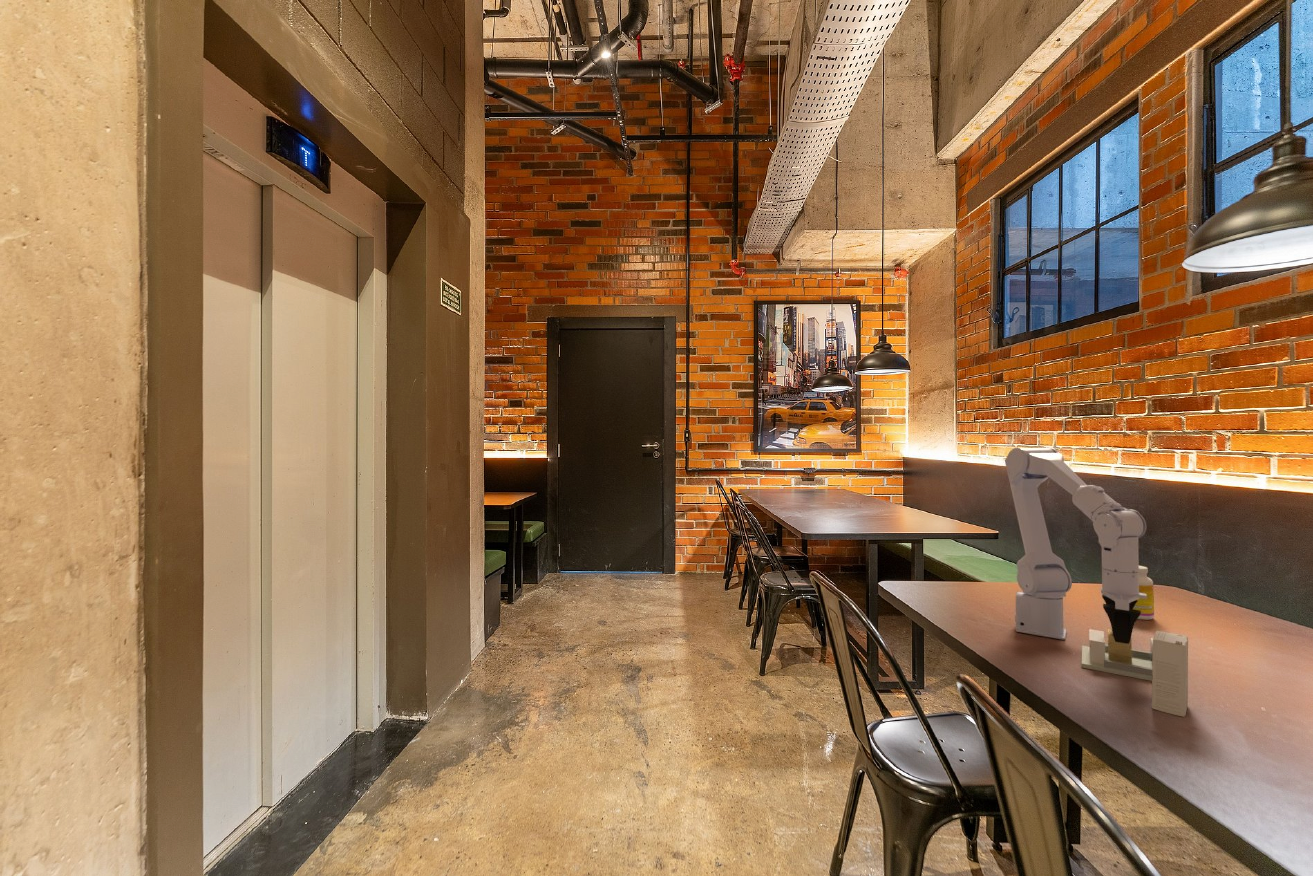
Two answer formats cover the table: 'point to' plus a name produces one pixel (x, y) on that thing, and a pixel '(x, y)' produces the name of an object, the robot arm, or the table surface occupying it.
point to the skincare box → (1170, 673)
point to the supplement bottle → (1147, 587)
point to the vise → (1099, 660)
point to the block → (1119, 650)
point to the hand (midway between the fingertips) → (1120, 636)
